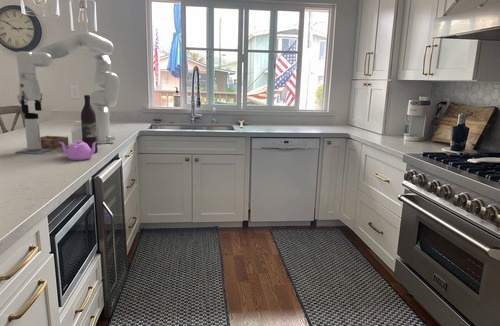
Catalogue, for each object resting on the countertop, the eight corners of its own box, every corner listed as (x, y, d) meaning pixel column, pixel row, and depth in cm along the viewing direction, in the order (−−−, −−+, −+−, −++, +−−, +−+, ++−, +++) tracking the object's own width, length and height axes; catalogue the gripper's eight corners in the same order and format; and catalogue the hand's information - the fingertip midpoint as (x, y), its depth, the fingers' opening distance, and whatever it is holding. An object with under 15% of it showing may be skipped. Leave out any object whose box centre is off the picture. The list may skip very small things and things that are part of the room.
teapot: (98, 158, 180) (98, 140, 178) (70, 162, 169) (69, 143, 167) (87, 154, 187) (86, 137, 185) (59, 158, 177) (58, 140, 175)
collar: (68, 145, 211) (68, 136, 210) (54, 149, 198) (53, 140, 197) (47, 144, 212) (46, 135, 211) (32, 147, 199) (31, 138, 198)
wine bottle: (81, 153, 189) (77, 95, 182) (85, 151, 195) (81, 94, 189) (95, 153, 190) (92, 95, 183) (99, 151, 196) (96, 95, 190)
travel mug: (25, 150, 190) (21, 111, 185) (39, 148, 194) (35, 111, 190) (28, 152, 185) (25, 112, 181) (43, 150, 190) (39, 112, 186)
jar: (70, 149, 198) (68, 122, 195) (75, 146, 208) (73, 120, 204) (93, 149, 201) (91, 122, 197) (96, 146, 210) (95, 120, 207)
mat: (52, 150, 196) (52, 148, 195) (37, 154, 184) (37, 153, 184) (31, 148, 197) (31, 147, 196) (15, 152, 185) (15, 151, 185)
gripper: (22, 77, 173) (27, 113, 178) (46, 77, 190) (49, 110, 194) (8, 77, 174) (13, 113, 178) (32, 77, 191) (36, 109, 195)
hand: (32, 111), depth 186 cm, fingers open, 9 cm apart
